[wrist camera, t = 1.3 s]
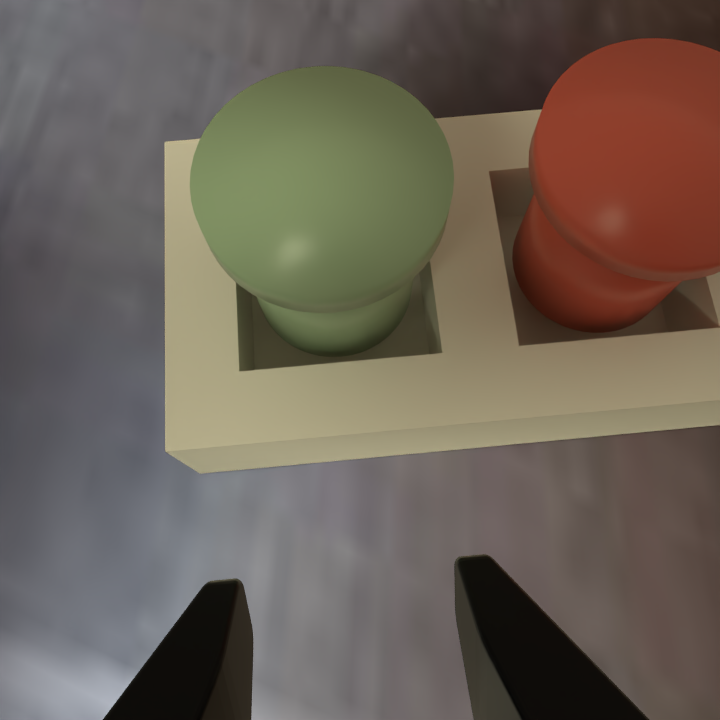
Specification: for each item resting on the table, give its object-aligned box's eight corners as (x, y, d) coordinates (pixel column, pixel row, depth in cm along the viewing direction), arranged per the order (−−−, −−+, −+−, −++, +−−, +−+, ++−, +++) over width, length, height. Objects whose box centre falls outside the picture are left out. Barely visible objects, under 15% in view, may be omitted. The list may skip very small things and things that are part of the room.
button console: (974, 401, 23) (1096, 365, 19) (200, 473, 22) (165, 451, 18) (877, 147, 26) (965, 73, 22) (195, 207, 25) (164, 141, 22)
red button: (707, 342, 20) (839, 249, 15) (509, 360, 20) (564, 273, 15) (662, 170, 22) (763, 28, 16) (480, 186, 22) (518, 48, 16)
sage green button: (442, 366, 20) (471, 282, 14) (242, 384, 20) (191, 307, 14) (419, 191, 22) (436, 56, 16) (235, 208, 22) (188, 76, 16)
